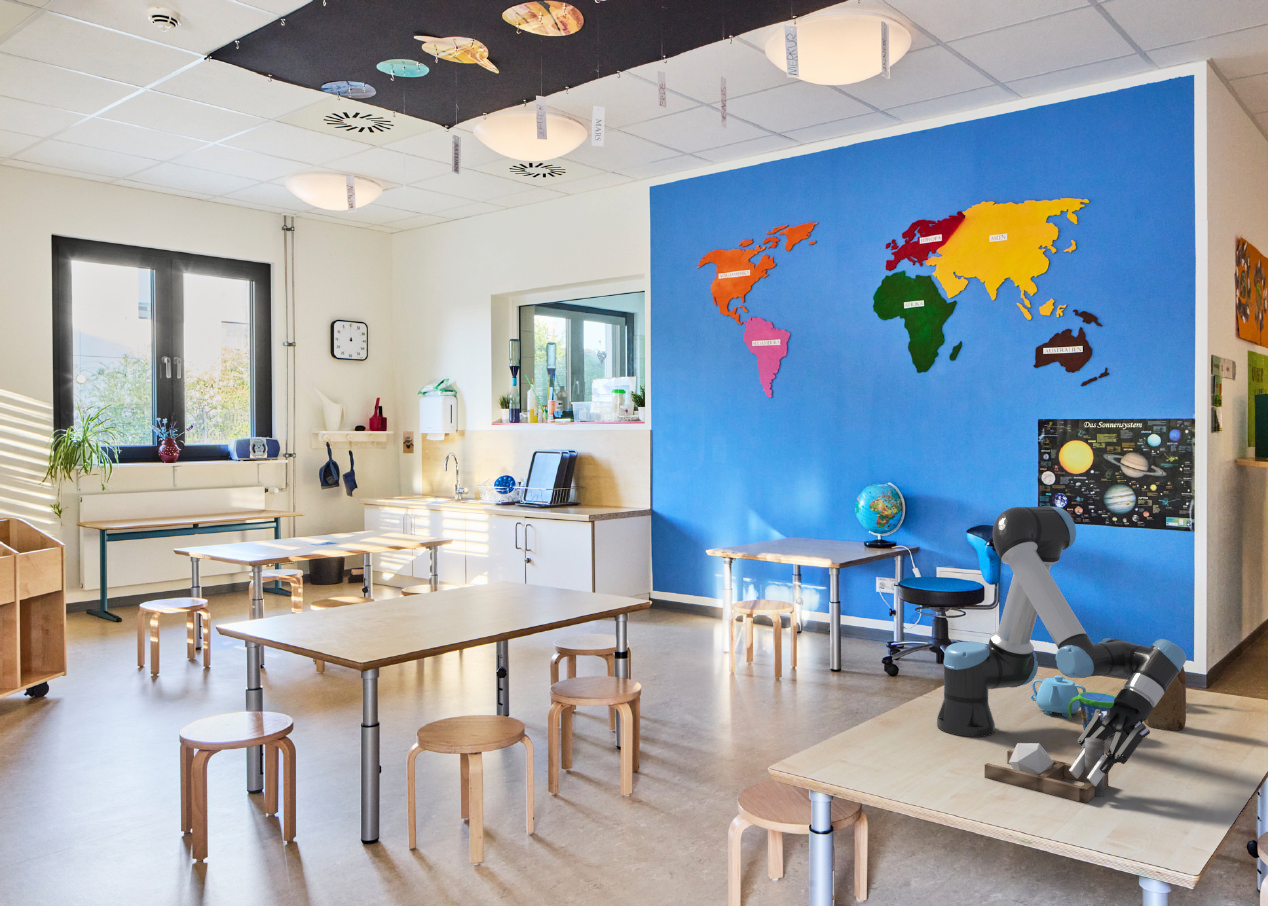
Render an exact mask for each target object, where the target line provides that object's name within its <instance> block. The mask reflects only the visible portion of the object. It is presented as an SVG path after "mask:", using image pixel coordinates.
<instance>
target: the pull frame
mask: <svg viewBox="0 0 1268 906" xmlns="http://www.w3.org/2000/svg"><path fill="white" fill-rule="evenodd" d="M1105 741H1106V740H1105ZM1105 741H1103V740H1101V739H1098V738H1085V769H1084V771H1083V772H1082V774H1081V775H1080V776H1079V778H1078V779H1077V778H1075V777H1074V776H1073V775H1072V773H1071V772H1070V771H1069V769H1070V768H1071V766H1072V765H1073V764H1074V763H1069V762H1064V761H1059V760H1056V759H1052V760H1053V761H1054V762H1053V764H1052V767H1051V768H1050V769H1048V770H1047V771H1045V772H1044V773H1042V774H1041V775H1039V776H1038V775H1034V774H1030V773H1026V772H1022V771H1018V770H1014V769H1013V768H1009V767H1005V766H1001V765H996V764H994V763H993V764H992V763H989V762H987V763H985V764H984V778H986V779H990V780H994V781H998V782H1002V783H1006V784H1010V785H1014V786H1018V787H1022V788H1025V789H1029V790H1032V791H1037V792H1041V793H1046V794H1047V795H1048V794H1049V795H1052V796H1056V797H1061V798H1064V799H1069V800H1071V801H1076V802H1080V803H1084V804H1088V802H1090V801H1091V800H1093V799H1094V798H1096V797H1099V798H1100V797H1104V796H1105V789H1106V788H1107V787H1108V786H1109V772H1108V773H1107V774H1104V775H1103V777H1102V778H1101V780H1100V781H1099V783H1098V784H1097V786H1094V785H1093V784H1092V783H1091V782H1090V781H1089V780H1088V779H1087V777H1088V775H1089V774H1090V772H1091V771H1092V769H1093V768H1094V766H1095V765H1096V764H1097V762H1098V761H1099V759H1100V758H1101V756H1102V755H1105V748H1106V747H1105V743H1106V742H1105ZM1013 752H1014V750H1012V749H1009V750H1007V753H1006V757H1007V758H1006V759H1007V760H1006V761H1007V762H1006V764H1008V765H1010V764H1009V761H1010V758H1011V756H1012V754H1013ZM1064 778H1066V779H1071V780H1074V781H1077V782H1078V781H1079V782H1083V783H1084V784H1082V785H1078V784H1073V783H1070V782H1066V781H1063V779H1064Z"/></svg>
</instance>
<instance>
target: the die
mask: <svg viewBox="0 0 1268 906" xmlns="http://www.w3.org/2000/svg"><path fill="white" fill-rule="evenodd" d="M1013 751H1014V752H1013V754H1012V756H1011V758H1010V761H1009V764H1008V765H1010V767H1011V769H1014V770H1018V771H1022V772H1026V773H1030V774H1034V775H1038V776H1039V775H1041V774H1042V773H1044V772H1045V771H1047V770H1048V769H1050V768H1051V767H1052V764H1053V762H1054V761H1053V760H1054V759H1052V758H1051V756H1050V755H1049V753H1048V752H1047V751H1046V750H1045V749H1044V747H1043V746H1042V745H1041V744H1040V743H1039V742H1038V743H1037V742H1036V743H1034V742H1033V743H1030V742H1029V743H1028V742H1027V743H1026V742H1025V743H1024V742H1023V743H1022V742H1018V743H1016V745H1015V747H1014V749H1013Z"/></svg>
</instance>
